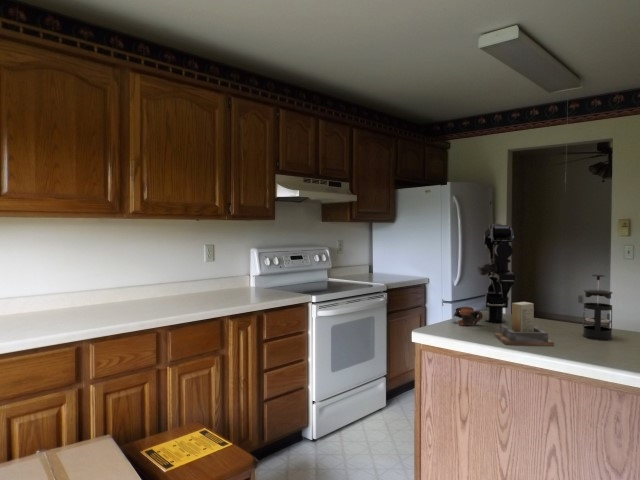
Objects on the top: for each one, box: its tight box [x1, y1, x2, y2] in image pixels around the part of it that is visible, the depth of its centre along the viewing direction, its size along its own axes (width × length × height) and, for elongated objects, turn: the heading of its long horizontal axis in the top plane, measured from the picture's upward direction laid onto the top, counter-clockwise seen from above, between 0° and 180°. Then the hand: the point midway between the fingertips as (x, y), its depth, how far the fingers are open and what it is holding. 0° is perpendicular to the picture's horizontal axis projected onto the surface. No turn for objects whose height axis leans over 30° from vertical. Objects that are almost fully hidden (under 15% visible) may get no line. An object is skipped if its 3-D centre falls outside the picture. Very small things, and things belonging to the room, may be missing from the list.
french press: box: [582, 274, 613, 341], centre depth 167 cm, size 12×9×23 cm
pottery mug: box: [453, 306, 484, 327], centre depth 189 cm, size 12×10×8 cm
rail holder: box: [493, 324, 555, 347], centre depth 162 cm, size 13×16×4 cm
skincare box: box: [511, 301, 535, 332], centre depth 162 cm, size 6×4×12 cm
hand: (500, 296), depth 180 cm, fingers open, 9 cm apart
